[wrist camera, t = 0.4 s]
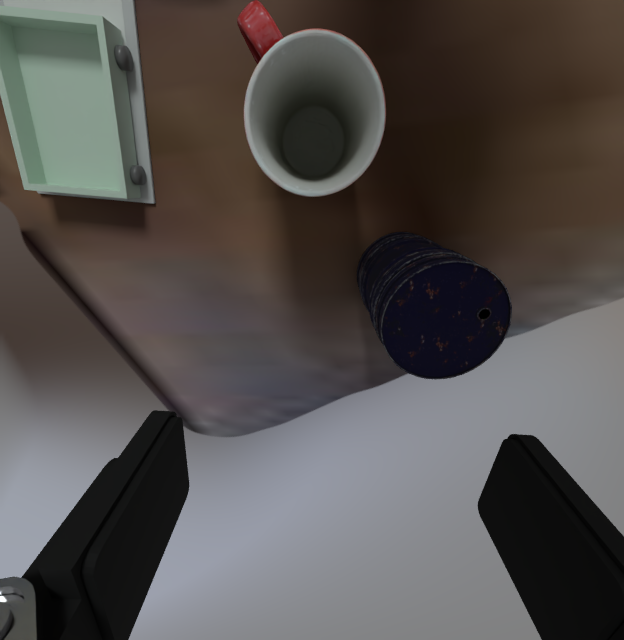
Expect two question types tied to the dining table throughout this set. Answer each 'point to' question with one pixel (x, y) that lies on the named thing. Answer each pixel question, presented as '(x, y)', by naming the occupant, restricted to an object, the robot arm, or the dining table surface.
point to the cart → (68, 102)
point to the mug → (310, 106)
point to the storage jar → (432, 305)
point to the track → (120, 10)
